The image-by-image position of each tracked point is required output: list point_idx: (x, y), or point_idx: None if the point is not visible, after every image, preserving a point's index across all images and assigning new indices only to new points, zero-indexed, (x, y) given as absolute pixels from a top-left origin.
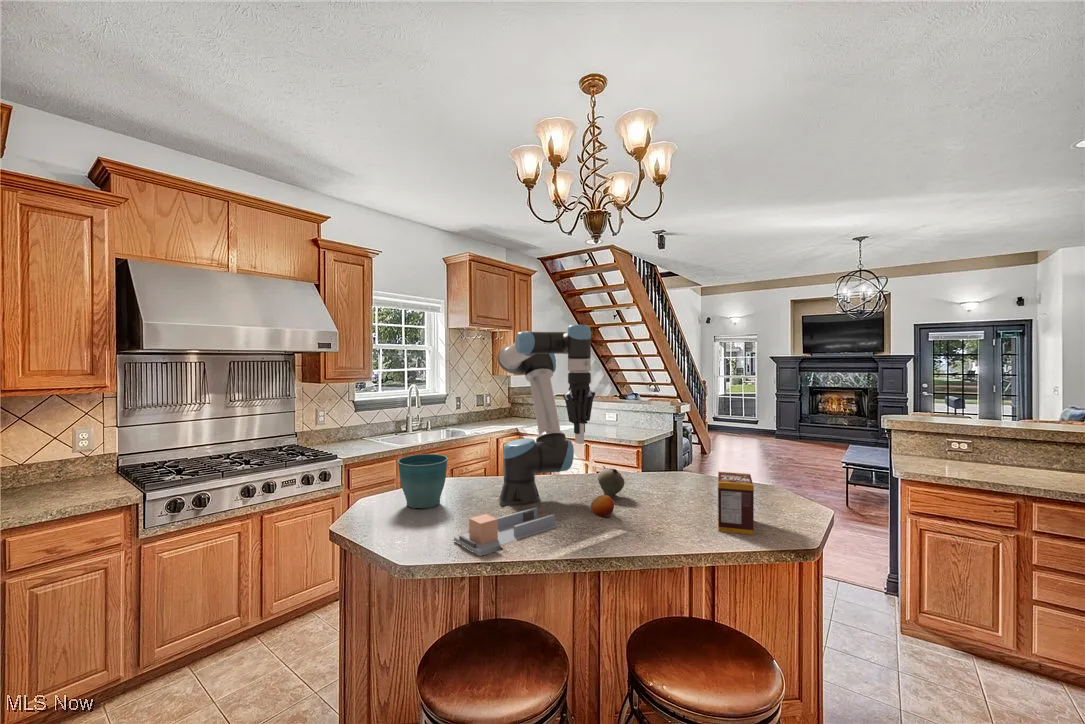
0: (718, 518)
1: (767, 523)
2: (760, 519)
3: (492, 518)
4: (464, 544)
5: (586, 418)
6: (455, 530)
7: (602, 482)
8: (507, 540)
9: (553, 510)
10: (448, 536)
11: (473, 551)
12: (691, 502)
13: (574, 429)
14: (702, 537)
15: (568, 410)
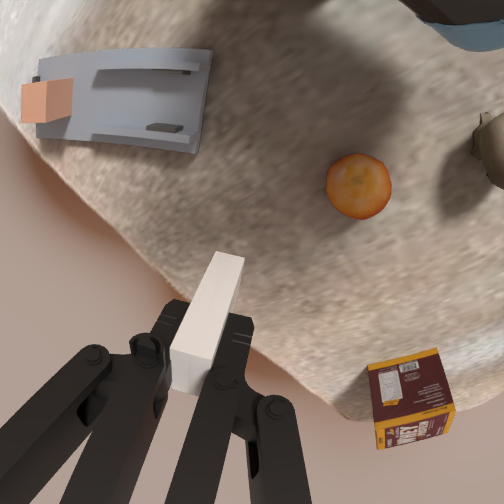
0: (373, 379)
1: None
2: None
3: (41, 113)
4: None
5: (247, 435)
6: (73, 10)
7: (485, 137)
8: (78, 132)
9: (309, 50)
10: (52, 30)
11: None
12: (496, 296)
13: (158, 322)
14: (331, 357)
15: (23, 423)
